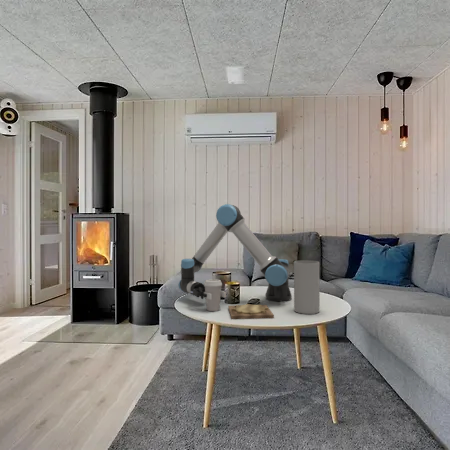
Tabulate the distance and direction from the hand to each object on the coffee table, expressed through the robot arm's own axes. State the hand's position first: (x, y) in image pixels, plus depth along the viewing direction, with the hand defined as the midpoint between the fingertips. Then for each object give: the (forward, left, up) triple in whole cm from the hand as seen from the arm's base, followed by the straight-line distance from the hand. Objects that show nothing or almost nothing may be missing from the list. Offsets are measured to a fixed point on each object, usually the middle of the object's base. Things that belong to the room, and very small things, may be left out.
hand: (218, 295), depth 183 cm
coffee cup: (+2, -4, -8) cm, 9 cm away
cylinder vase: (-45, +3, -8) cm, 45 cm away
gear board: (-16, +4, -8) cm, 18 cm away
